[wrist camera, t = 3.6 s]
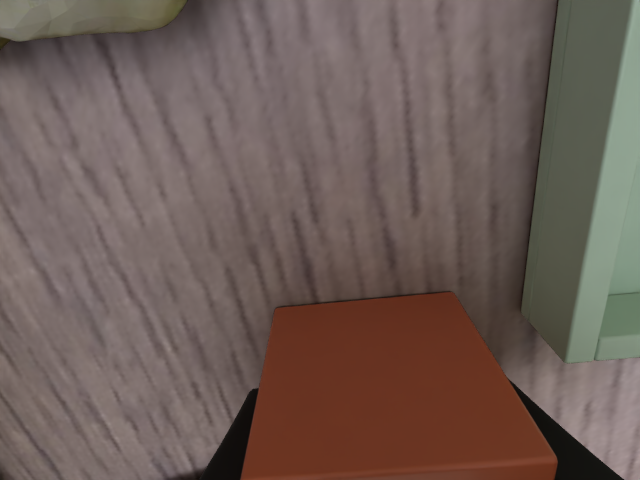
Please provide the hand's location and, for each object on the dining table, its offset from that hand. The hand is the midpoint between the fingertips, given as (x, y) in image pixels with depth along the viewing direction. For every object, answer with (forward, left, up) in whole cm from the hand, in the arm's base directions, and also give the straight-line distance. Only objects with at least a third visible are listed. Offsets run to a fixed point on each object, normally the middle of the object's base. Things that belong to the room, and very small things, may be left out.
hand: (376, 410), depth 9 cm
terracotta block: (0, 0, -1) cm, 1 cm away
